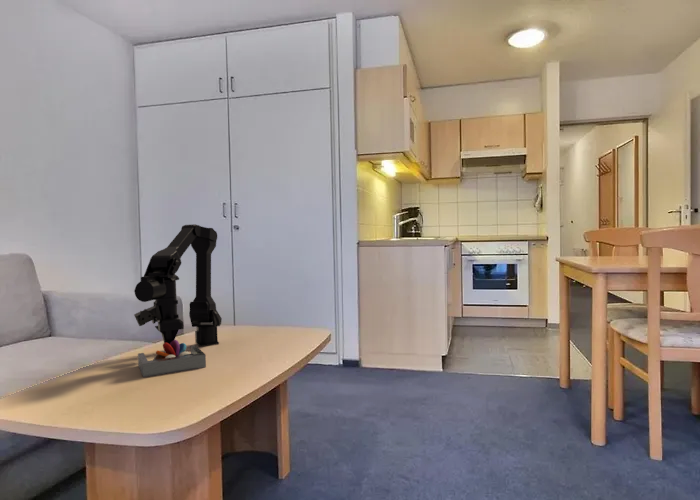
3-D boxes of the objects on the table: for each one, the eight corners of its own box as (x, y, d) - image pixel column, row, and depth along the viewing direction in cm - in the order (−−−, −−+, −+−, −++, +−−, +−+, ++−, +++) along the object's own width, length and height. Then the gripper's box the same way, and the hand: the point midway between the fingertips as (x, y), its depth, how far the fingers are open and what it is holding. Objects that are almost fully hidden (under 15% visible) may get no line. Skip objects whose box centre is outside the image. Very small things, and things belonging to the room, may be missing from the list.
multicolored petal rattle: (149, 367, 129) (148, 342, 129) (181, 360, 136) (180, 335, 136) (164, 372, 124) (163, 345, 123) (196, 364, 131) (195, 339, 131)
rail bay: (196, 356, 139) (195, 345, 139) (205, 367, 127) (205, 354, 127) (138, 365, 131) (137, 353, 131) (143, 377, 119) (142, 363, 119)
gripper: (132, 296, 137) (135, 348, 138) (138, 303, 121) (141, 361, 121) (172, 293, 143) (174, 343, 143) (182, 299, 127) (185, 355, 127)
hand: (168, 350), depth 133 cm, fingers closed
